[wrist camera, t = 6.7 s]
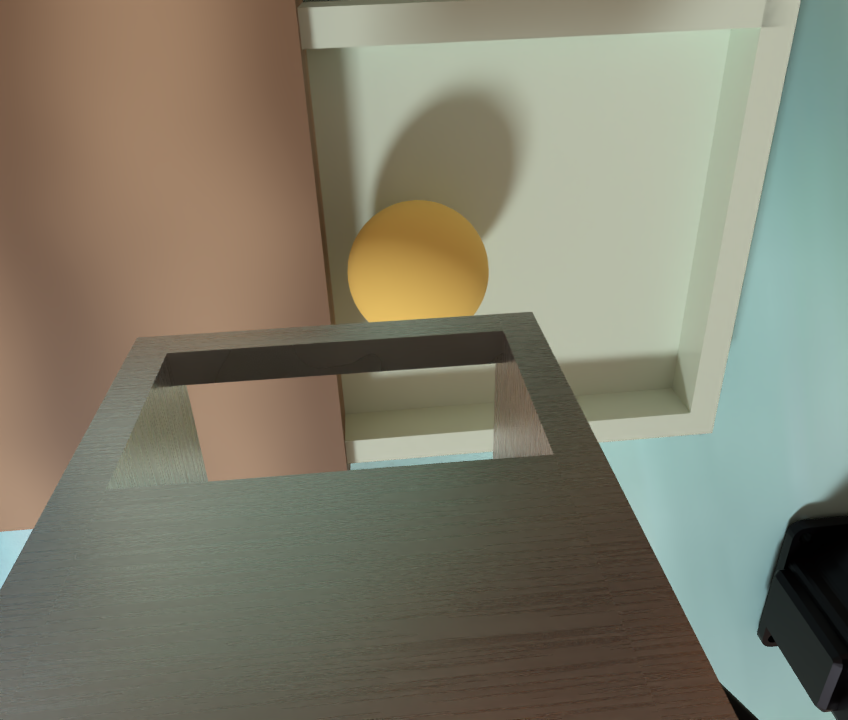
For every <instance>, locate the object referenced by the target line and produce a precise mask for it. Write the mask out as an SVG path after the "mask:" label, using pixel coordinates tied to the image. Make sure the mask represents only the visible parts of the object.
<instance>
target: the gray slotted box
mask: <svg viewBox="0 0 848 720" xmlns="http://www.w3.org/2000/svg"><path fill="white" fill-rule="evenodd" d="M481 364H495V398H494V436H493V459H488V460H475V461H463V462H450V463H437V464H424V465H412V466H399V467H386V468H374V469H361V470H348V471H336V472H323V473H310V474H298V475H285V476H272V477H260V478H247V479H234V480H222V481H209V482H208V478H207V474H206V469H205V465H204V460H203V456H202V452H201V447H200V443H199V439H198V434H197V430H196V425H195V421H194V417H193V412H192V408H191V403H190V399H189V395H188V390H187V386H186V385H195V384H209V383H224V382H238V381H252V380H267V379H281V378H295V377H309V376H324V375H338V374H352V373H367V372H381V371H395V370H409V369H424V368H438V367H452V366H466V365H481ZM0 720H738V718H737V716H736V714H735V712H734V710H733V708H732V706H731V704H730V702H729V700H728V698H727V696H726V694H725V692H724V690H723V688H722V686H721V684H720V682H719V680H718V678H717V676H716V674H715V672H714V670H713V668H712V666H711V664H710V662H709V660H708V658H707V656H706V654H705V652H704V650H703V648H702V646H701V645H700V643H699V641H698V639H697V637H696V635H695V633H694V631H693V629H692V627H691V625H690V623H689V621H688V619H687V617H686V615H685V613H684V611H683V609H682V607H681V605H680V603H679V601H678V599H677V597H676V595H675V593H674V591H673V589H672V587H671V585H670V583H669V581H668V579H667V577H666V575H665V573H664V571H663V569H662V567H661V565H660V563H659V561H658V560H657V558H656V556H655V554H654V552H653V550H652V548H651V546H650V544H649V542H648V540H647V538H646V536H645V534H644V532H643V530H642V528H641V526H640V524H639V522H638V520H637V518H636V516H635V514H634V512H633V510H632V508H631V506H630V504H629V502H628V500H627V498H626V496H625V494H624V492H623V490H622V488H621V486H620V484H619V482H618V480H617V478H616V476H615V474H614V473H613V471H612V469H611V467H610V465H609V463H608V461H607V459H606V457H605V455H604V453H603V451H602V449H601V447H600V445H599V443H598V441H597V439H596V437H595V435H594V433H593V431H592V429H591V427H590V425H589V423H588V421H587V419H586V417H585V415H584V413H583V411H582V409H581V407H580V405H579V403H578V401H577V399H576V397H575V395H574V393H573V391H572V389H571V388H570V386H569V384H568V382H567V380H566V378H565V376H564V374H563V372H562V370H561V368H560V366H559V364H558V362H557V360H556V358H555V356H554V354H553V352H552V350H551V348H550V346H549V344H548V342H547V340H546V338H545V336H544V334H543V332H542V330H541V328H540V326H539V324H538V322H537V320H536V318H535V316H534V314H533V312H520V313H505V314H489V315H474V316H459V317H444V318H428V319H413V320H398V321H382V322H367V323H352V324H337V325H321V326H306V327H291V328H276V329H260V330H245V331H230V332H214V333H199V334H184V335H169V336H153V337H138V338H137V339H136V341H135V342H134V344H133V346H132V348H131V350H130V352H129V353H128V355H127V357H126V359H125V361H124V363H123V365H122V366H121V368H120V370H119V372H118V374H117V376H116V377H115V379H114V381H113V383H112V385H111V387H110V389H109V390H108V392H107V394H106V396H105V398H104V400H103V401H102V403H101V405H100V407H99V409H98V411H97V412H96V414H95V416H94V418H93V420H92V422H91V424H90V425H89V427H88V429H87V431H86V433H85V435H84V436H83V438H82V440H81V442H80V444H79V446H78V448H77V449H76V451H75V453H74V455H73V457H72V459H71V460H70V462H69V464H68V466H67V468H66V470H65V471H64V473H63V475H62V477H61V479H60V481H59V483H58V484H57V486H56V488H55V490H54V492H53V494H52V495H51V497H50V499H49V501H48V503H47V505H46V506H45V508H44V510H43V512H42V514H41V516H40V518H39V519H38V521H37V523H36V525H35V527H34V529H33V530H32V532H31V534H30V536H29V538H28V540H27V542H26V543H25V545H24V547H23V549H22V551H21V553H20V554H19V556H18V558H17V560H16V562H15V564H14V565H13V567H12V569H11V571H10V573H9V575H8V577H7V578H6V580H5V582H4V584H3V586H2V588H1V589H0Z"/></svg>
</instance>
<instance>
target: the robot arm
mask: <svg viewBox="0 0 848 720" xmlns="http://www.w3.org/2000/svg"><path fill="white" fill-rule="evenodd" d="M757 635H758V637H759V638H760V640H761V642H762V643H763V644H764V645H765V646H768V647H773V646H778V647H779V648H780V650H781V651H782V653H783V655H784V656H785V658H786V660H787V661H788V663H789V664H790V666H791V668H792V669H793V671H794V673H795V674H796V676H797V677H798V679H799V681H800V682H801V684H802V685H803V687H804V689H805V690H806V692H807V694H808V695H809V697H810V698H811V700H812V702H813V703H814V705H815V706H816V707H817V708H818V709H820V710H821V711H822V712H829V711H831V712H832V714H833V715H834V717H835V718H836V720H848V516H842V517H831V518H820V519H809V520H801V521H797V522H795V523H793V524H792V525H791V526H790V527H789V528H788V530H787V532H786V536H785V539H784V542H783V546H782V549H781V553H780V556H779V559H778V563H777V566H776V570H775V573H774V576H773V580H772V583H771V587H770V590H769V593H768V597H767V600H766V604H765V607H764V610H763V614H762V617H761V621H760V624H759V628H758V631H757ZM720 684H721V683H720ZM721 686H722V688H723V690H724V692H725V694H726V696H727V698H728V700H729V702H730V704H731V706H732V708H733V710H734V712H735V714H736V716H737V718H738V720H759V719H757V718H756V717H755V716H754V715H753V714H752V713H751V712H750V711H749V710H748V709H747V708H746V707H745V706H744V705H743V704H742V703H741V702H740V701H739V700H738V699H737V698H736V697H735V696H733V695H732V694H731V693H730V692H729V691H728V690H727V689H726V688H725V687H724V686H723V685H722V684H721Z"/></svg>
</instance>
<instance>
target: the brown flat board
mask: <svg viewBox="0 0 848 720" xmlns="http://www.w3.org/2000/svg"><path fill="white" fill-rule="evenodd" d="M302 2H303V0H0V532H2V531H13V530H25V529H34V527H35V525H36V523H37V521H38V519H39V518H40V516H41V514H42V512H43V510H44V508H45V506H46V505H47V503H48V501H49V499H50V497H51V495H52V494H53V492H54V490H55V488H56V486H57V484H58V483H59V481H60V479H61V477H62V475H63V473H64V471H65V470H66V468H67V466H68V464H69V462H70V460H71V459H72V457H73V455H74V453H75V451H76V449H77V448H78V446H79V444H80V442H81V440H82V438H83V436H84V435H85V433H86V431H87V429H88V427H89V425H90V424H91V422H92V420H93V418H94V416H95V414H96V412H97V411H98V409H99V407H100V405H101V403H102V401H103V400H104V398H105V396H106V394H107V392H108V390H109V389H110V387H111V385H112V383H113V381H114V379H115V377H116V376H117V374H118V372H119V370H120V368H121V366H122V365H123V363H124V361H125V359H126V357H127V355H128V353H129V352H130V350H131V348H132V346H133V344H134V342H135V341H136V339H137V338H138V337H153V336H169V335H184V334H199V333H214V332H230V331H245V330H260V329H276V328H291V327H306V326H321V325H336V323H335V314H334V304H333V295H332V286H331V276H330V267H329V258H328V248H327V239H326V230H325V221H324V211H323V202H322V193H321V183H320V174H319V165H318V155H317V146H316V137H315V127H314V118H313V109H312V99H311V90H310V81H309V71H308V62H307V53H306V49H302V45H301V36H300V27H299V18H298V9H297V8H298V7H299V6H300V4H301V3H302ZM186 386H187V390H188V395H189V399H190V403H191V408H192V412H193V417H194V421H195V425H196V430H197V434H198V439H199V443H200V447H201V452H202V456H203V460H204V465H205V469H206V474H207V478H208V482H209V481H222V480H234V479H247V478H260V477H272V476H285V475H298V474H310V473H323V472H336V471H348V470H350V463H347V454H346V445H345V407H344V398H343V388H342V379H341V374H338V375H324V376H309V377H295V378H281V379H267V380H252V381H238V382H224V383H209V384H195V385H186Z"/></svg>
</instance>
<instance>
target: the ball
mask: <svg viewBox="0 0 848 720" xmlns="http://www.w3.org/2000/svg"><path fill="white" fill-rule="evenodd" d="M347 274H348V283H349V288H350V292H351V295H352V297H353V300H354V302H355V304H356V306H357V308H358V309H359V311H360V312H361V314H362V315H363V316H364V318H365V319H366V320H367V321H368V322H382V321H398V320H413V319H428V318H444V317H459V316H474V314H475V313H476V311H477V310H478V308H479V306H480V305H481V303H482V301H483V299H484V296H485V293H486V289H487V285H488V278H489V266H488V258H487V253H486V250H485V247H484V244H483V242H482V240H481V238H480V236H479V234H478V233H477V231H476V230H475V228H474V227H473V226H472V224H471V223H470V222H469V221H468V220H467V219H466V218H464V217H463V216H462V215H461V214H460V213H458V212H456V211H455V210H453V209H451V208H449V207H447V206H445V205H443V204H440V203H437V202H432V201H426V200H411V201H404V202H400V203H396V204H394V205H391V206H389V207H387V208H385V209H383V210H381V211H380V212H378V213H377V214H376V215H374V216H373V217H372V218H371V219H370V220H369V221H368V222H367V223H366V224H365V225H364V226H363V227H362V229H361V230H360V231H359V233H358V235H357V236H356V238H355V240H354V242H353V245H352V248H351V251H350V254H349V259H348V271H347Z"/></svg>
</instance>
